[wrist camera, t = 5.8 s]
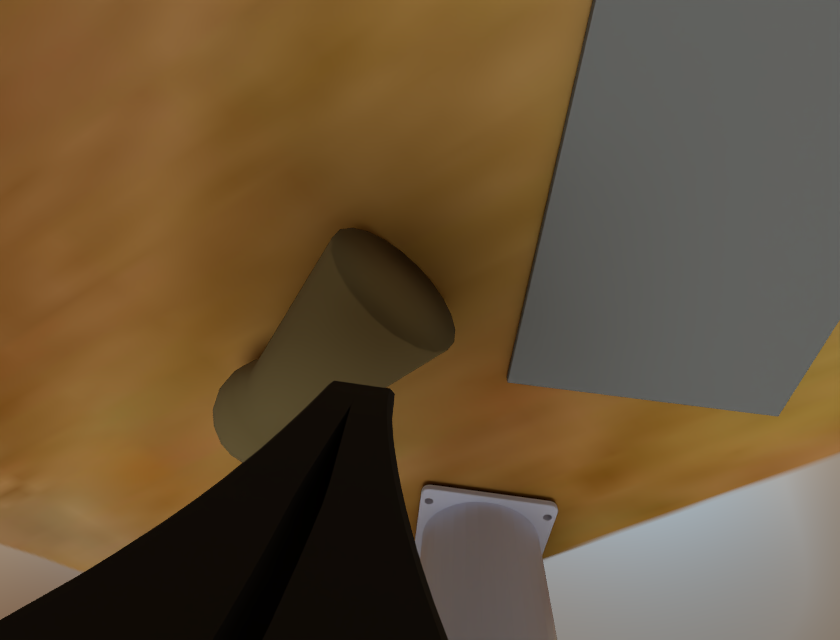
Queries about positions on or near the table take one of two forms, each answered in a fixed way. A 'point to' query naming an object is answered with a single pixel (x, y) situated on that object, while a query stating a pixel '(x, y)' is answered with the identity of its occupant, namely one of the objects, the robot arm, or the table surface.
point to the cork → (336, 338)
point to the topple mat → (692, 207)
